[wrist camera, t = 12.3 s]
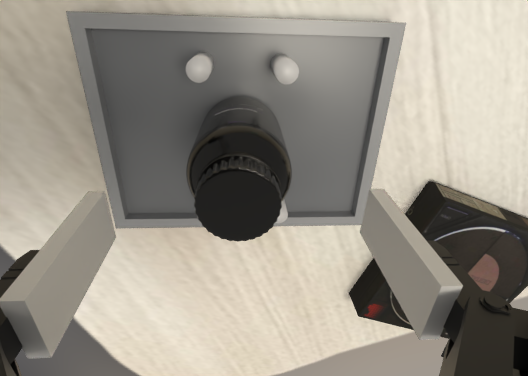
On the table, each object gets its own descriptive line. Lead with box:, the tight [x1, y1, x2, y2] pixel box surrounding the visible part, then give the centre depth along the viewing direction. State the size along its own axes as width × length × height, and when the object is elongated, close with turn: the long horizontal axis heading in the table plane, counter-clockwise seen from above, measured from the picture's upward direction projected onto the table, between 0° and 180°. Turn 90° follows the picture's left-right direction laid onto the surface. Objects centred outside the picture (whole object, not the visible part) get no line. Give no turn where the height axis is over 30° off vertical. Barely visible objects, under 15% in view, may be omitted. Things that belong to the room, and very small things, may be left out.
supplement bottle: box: [186, 96, 292, 241], centre depth 22 cm, size 7×7×12 cm
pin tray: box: [66, 11, 406, 228], centre depth 27 cm, size 24×18×6 cm
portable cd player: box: [349, 182, 528, 339], centre depth 37 cm, size 16×17×4 cm
